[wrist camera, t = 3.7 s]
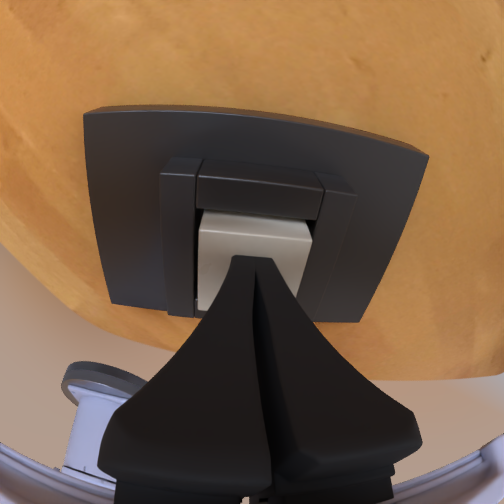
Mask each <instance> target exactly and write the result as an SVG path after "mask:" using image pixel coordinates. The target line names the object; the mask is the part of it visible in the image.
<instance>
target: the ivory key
mask: <svg viewBox="0 0 504 504" xmlns="http://www.w3.org/2000/svg"><path fill="white" fill-rule="evenodd" d="M311 245H312V238H311V235H310V232H309V230H308V227H307V224H306V221H305V219H299V218H290V217H281V216H272V215H263V214H253V213H243V212H233V211H222V210H211V209H204V212H203V216H202V220H201V224H200V228H199V239H198V310H203V311H207V310H208V309H209V307H210V306H211V304H212V302H213V301H214V299H215V297H216V295H217V293H218V291H219V289H220V287H221V285H222V283H223V281H224V279H225V277H226V275H227V272H228V269H229V266H230V263H231V257H232V256H234V255H245V256H256V257H268V258H272V259H273V260H274V262H275V264H276V265H277V267H278V269H279V271H280V273H281V275H282V277H283V278H284V280H285V282H286V283H287V285H288V287H289V288H290V290H291V292H292V293H293V295H294V296H295V298H296V295H297V292H298V289H299V286H300V282H301V279H302V276H303V272H304V269H305V266H306V262H307V259H308V255H309V252H310V248H311Z"/></svg>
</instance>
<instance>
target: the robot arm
mask: <svg viewBox="0 0 504 504" xmlns="http://www.w3.org/2000/svg"><path fill="white" fill-rule="evenodd" d="M68 389H69V391H70V392H71V393H72V395H73V396H74V397H75V398H76V400H77V401H78V402H79V405H78V409H77V412H76V416H75V420H74V423H73V427H72V431H71V435H70V438H69V443H68V447H67V451H66V456H65V460H64V465H63V466H62V470H61V472H60V469H58V468H56V467H55V468H54V469H52V468H50V467H48V466H45V465H43V464H41V463H39V462H36V461H34V460H32V459H30V458H28V457H26V456H24V455H22V454H20V453H19V452H17V451H15V450H13V449H11V448H9V447H8V446H6V445H4V444H3V443H1V442H0V504H240V503H242V499H243V498H244V497H249V504H498V503H499V501H501V500H502V499H503V498H504V433H503V434H501V435H500V436H498V437H497V438H495V439H493V440H492V441H490V442H488V443H487V444H486V445H484V446H482V447H481V448H480V449H478V450H476V451H475V452H473V453H471V454H469V455H467V456H465V457H463V458H461V459H459V460H457V461H455V462H452V463H450V464H448V465H446V466H443V467H441V468H439V469H436V470H434V471H432V472H429V473H427V474H424V475H421V476H419V477H416V478H413V479H410V480H408V481H405V482H402V483H399V484H395V485H393V486H392V483H391V478H390V477H391V476H393V475H394V474H395V469H394V465H393V464H394V463H396V462H398V461H400V460H402V459H403V458H405V457H407V456H409V455H411V454H412V453H414V452H416V451H417V450H418V449H419V448H420V447H421V446H422V438H421V435H420V431H419V427H418V424H417V421H416V418H415V416H414V413H413V412H412V411H410V410H409V409H408V408H406V407H404V406H403V405H402V404H400V403H398V402H397V401H395V400H394V399H393V398H391V397H390V396H388V395H386V394H385V393H384V392H383V391H381V390H380V389H379V388H377V387H376V386H375V385H374V384H373V383H371V382H370V381H369V380H368V379H366V378H365V377H364V376H363V375H362V374H361V373H359V372H358V371H357V370H356V369H355V368H354V367H353V366H352V365H351V364H350V363H349V362H348V361H347V360H346V359H344V358H343V357H342V356H341V355H340V354H339V353H338V351H337V350H336V349H335V348H334V347H333V346H332V345H331V344H330V343H329V342H328V341H327V339H326V338H325V337H324V336H323V335H322V334H321V332H320V331H319V330H318V329H317V327H316V326H315V325H314V323H313V322H312V321H311V319H310V318H309V317H308V315H307V314H306V313H305V311H304V310H303V308H302V307H301V305H300V304H299V302H298V301H297V299H296V298H295V296H294V295H293V293H292V292H291V290H290V288H289V287H288V285H287V283H286V282H285V280H284V278H283V277H282V275H281V273H280V271H279V269H278V267H277V265H276V264H275V262H274V260H273V259H272V258H268V257H256V256H245V255H234V256H232V257H231V263H230V266H229V269H228V272H227V275H226V277H225V279H224V281H223V283H222V285H221V287H220V289H219V291H218V293H217V295H216V297H215V299H214V301H213V302H212V304H211V306H210V307H209V309H208V310H207V312H206V314H205V315H204V317H203V318H202V320H201V321H200V323H199V324H198V326H197V327H196V328H195V330H194V331H193V332H192V334H191V335H190V336H189V338H188V339H187V340H186V341H185V343H184V344H183V345H182V346H181V348H180V349H179V350H178V351H177V352H176V354H175V355H174V356H173V357H172V358H171V359H170V361H168V362H167V364H166V365H165V366H164V367H163V368H162V369H161V370H160V371H159V372H158V373H157V374H156V375H155V376H154V377H153V378H152V379H151V380H150V381H149V382H148V383H147V384H146V385H144V386H143V387H142V388H141V389H140V390H139V391H138V392H136V393H135V394H134V395H133V396H132V397H131V398H129V399H126V398H121V397H117V396H112V395H108V394H104V393H100V392H96V391H92V390H88V389H84V388H81V387H77V386H74V385H68Z"/></svg>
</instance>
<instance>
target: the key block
mask: <svg viewBox="0 0 504 504" xmlns="http://www.w3.org/2000/svg"><path fill="white" fill-rule="evenodd" d="M83 124H84V145H85V159H86V170H87V180H88V188H89V196H90V203H91V210H92V216H93V223H94V228H95V234H96V239H97V244H98V249H99V254H100V259H101V263H102V268H103V272H104V276H105V280H106V284H107V288H108V292H109V296H110V299H111V303H112V304H118V305H125V306H132V307H139V308H147V309H154V310H162V311H167V312H168V315H172V316H180V317H190V318H194V316H195V318H203V317H204V315H205V314H206V312H207V311H203V310H198V239H199V228H200V224H201V220H202V216H203V212H204V209H211V210H222V211H233V212H243V213H253V214H263V215H272V216H281V217H290V218H299V219H305V221H306V224H307V227H308V230H309V232H310V235H311V238H312V245H311V248H310V252H309V255H308V259H307V262H306V266H305V269H304V272H303V276H302V279H301V282H300V286H299V289H298V292H297V295H296V299H297V301H298V302H299V304H300V305H301V307H302V308H303V310H304V311H305V313H306V314H307V315H308V317H309V318H310V319H311V321H312V322H348V323H358V322H360V320H361V318H362V316H363V314H364V312H365V310H366V309H367V307H368V305H369V303H370V301H371V299H372V297H373V295H374V293H375V291H376V289H377V287H378V285H379V283H380V281H381V279H382V277H383V275H384V272H385V270H386V268H387V266H388V264H389V262H390V260H391V257H392V255H393V253H394V251H395V248H396V246H397V244H398V241H399V239H400V237H401V234H402V232H403V229H404V227H405V224H406V222H407V219H408V217H409V214H410V212H411V209H412V206H413V204H414V201H415V198H416V196H417V193H418V190H419V187H420V184H421V181H422V178H423V175H424V172H425V169H426V166H427V163H428V160H429V155H427V154H425V153H424V152H422V151H421V150H419V149H417V148H416V147H414V146H412V145H410V144H407V143H404V142H401V141H397V140H394V139H391V138H387V137H384V136H380V135H377V134H373V133H369V132H366V131H362V130H358V129H354V128H350V127H345V126H341V125H337V124H332V123H327V122H323V121H318V120H312V119H307V118H302V117H296V116H290V115H283V114H277V113H270V112H262V111H254V110H245V109H235V108H224V107H210V106H191V105H126V106H108V107H100V108H98V109H95V110H92V111H89V112H86V113H84V114H83Z"/></svg>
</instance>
